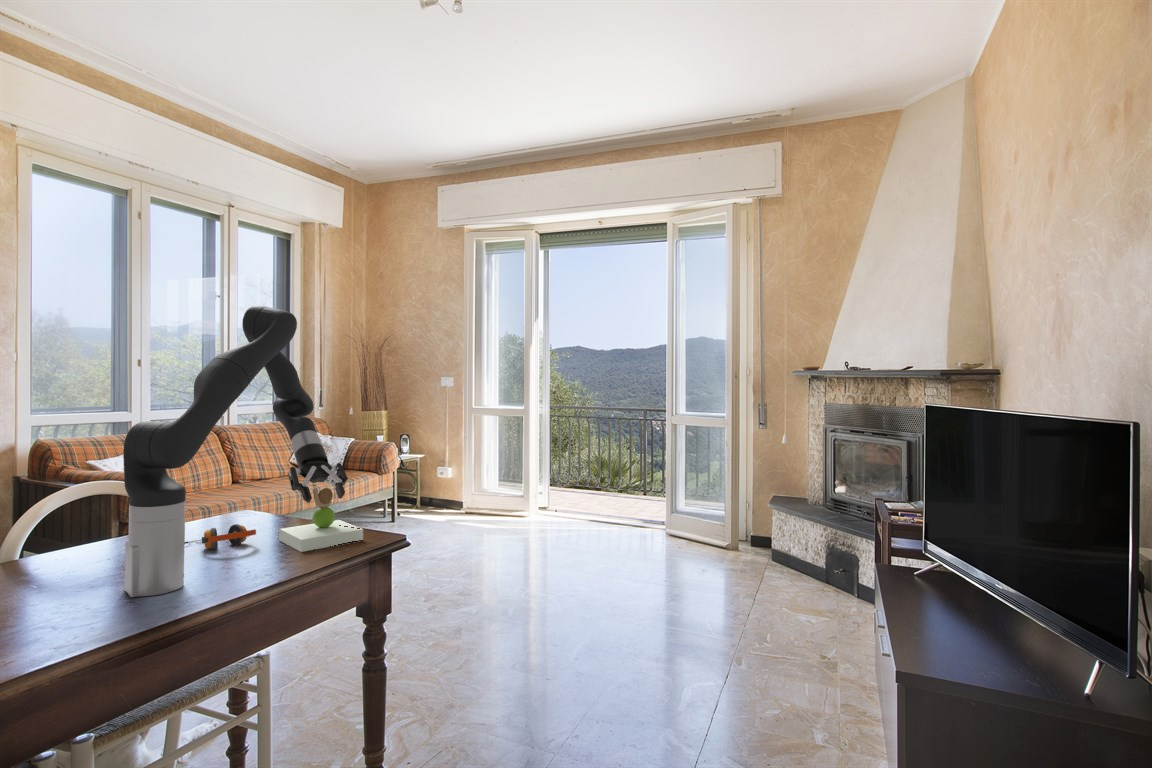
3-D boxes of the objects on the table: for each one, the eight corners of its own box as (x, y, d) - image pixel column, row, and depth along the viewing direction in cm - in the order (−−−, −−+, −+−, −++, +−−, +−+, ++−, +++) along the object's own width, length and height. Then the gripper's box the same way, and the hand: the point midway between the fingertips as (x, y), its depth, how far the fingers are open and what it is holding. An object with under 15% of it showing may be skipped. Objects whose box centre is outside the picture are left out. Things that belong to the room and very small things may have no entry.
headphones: (243, 523, 164) (272, 518, 151) (244, 542, 163) (274, 539, 150) (173, 533, 151) (198, 530, 139) (174, 554, 151) (199, 553, 138)
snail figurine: (304, 529, 157) (305, 483, 157) (323, 524, 163) (325, 479, 163) (320, 531, 155) (321, 485, 155) (339, 526, 160) (340, 481, 160)
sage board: (300, 552, 147) (301, 539, 147) (279, 540, 156) (279, 528, 156) (362, 540, 158) (363, 529, 158) (339, 530, 168) (339, 519, 168)
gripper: (286, 443, 159) (302, 493, 151) (338, 440, 169) (356, 487, 162) (278, 461, 163) (293, 510, 155) (330, 457, 173) (347, 503, 165)
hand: (325, 498), depth 158 cm, fingers open, 8 cm apart
